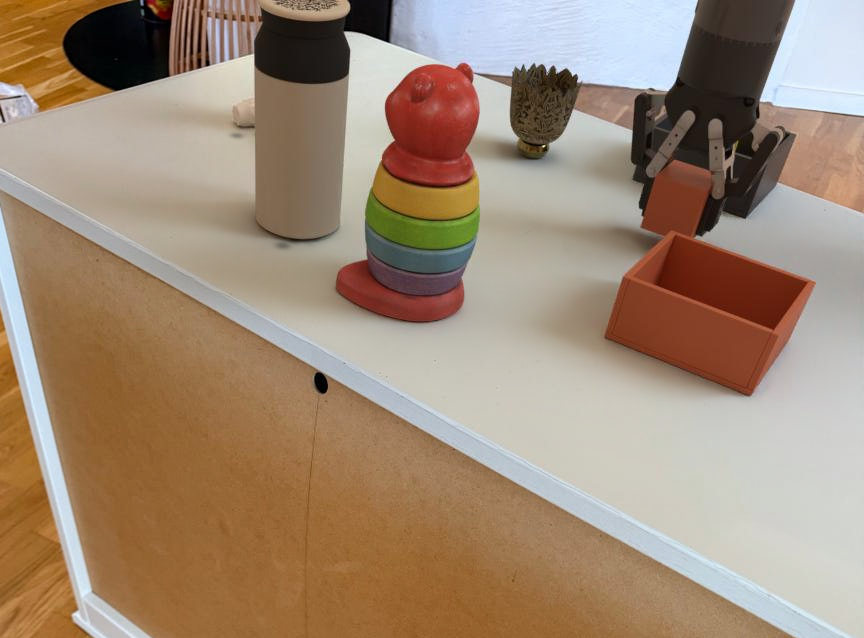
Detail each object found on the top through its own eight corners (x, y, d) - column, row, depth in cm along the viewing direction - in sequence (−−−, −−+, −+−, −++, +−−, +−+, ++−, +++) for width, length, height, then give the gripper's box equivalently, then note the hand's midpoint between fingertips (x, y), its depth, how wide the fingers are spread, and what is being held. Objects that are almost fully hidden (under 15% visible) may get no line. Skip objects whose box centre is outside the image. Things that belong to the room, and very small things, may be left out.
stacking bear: (416, 253, 85) (444, 33, 72) (493, 302, 81) (538, 78, 67) (325, 284, 80) (337, 53, 67) (402, 338, 76) (431, 102, 62)
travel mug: (357, 226, 88) (373, 5, 74) (297, 250, 83) (303, 21, 70) (298, 195, 91) (304, -22, 77) (238, 217, 87) (232, -9, 73)
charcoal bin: (776, 185, 104) (797, 134, 100) (745, 218, 98) (767, 164, 93) (668, 150, 108) (684, 99, 104) (632, 179, 101) (647, 125, 97)
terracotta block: (705, 227, 91) (723, 175, 87) (688, 244, 88) (706, 191, 84) (658, 211, 93) (674, 159, 89) (640, 228, 90) (655, 175, 86)
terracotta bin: (788, 340, 82) (816, 281, 77) (750, 396, 75) (779, 335, 71) (651, 288, 85) (671, 229, 81) (603, 337, 79) (622, 276, 75)
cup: (493, 138, 105) (507, 59, 99) (555, 142, 106) (572, 64, 100) (506, 166, 100) (521, 85, 94) (570, 169, 102) (589, 89, 96)
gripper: (834, 35, 77) (755, 234, 90) (675, -7, 82) (621, 189, 94) (810, 55, 73) (731, 262, 86) (644, 10, 77) (592, 213, 90)
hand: (674, 223), depth 90 cm, fingers closed on terracotta block, 5 cm apart
